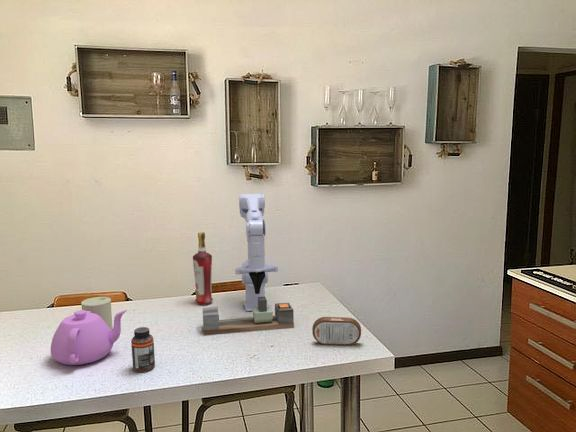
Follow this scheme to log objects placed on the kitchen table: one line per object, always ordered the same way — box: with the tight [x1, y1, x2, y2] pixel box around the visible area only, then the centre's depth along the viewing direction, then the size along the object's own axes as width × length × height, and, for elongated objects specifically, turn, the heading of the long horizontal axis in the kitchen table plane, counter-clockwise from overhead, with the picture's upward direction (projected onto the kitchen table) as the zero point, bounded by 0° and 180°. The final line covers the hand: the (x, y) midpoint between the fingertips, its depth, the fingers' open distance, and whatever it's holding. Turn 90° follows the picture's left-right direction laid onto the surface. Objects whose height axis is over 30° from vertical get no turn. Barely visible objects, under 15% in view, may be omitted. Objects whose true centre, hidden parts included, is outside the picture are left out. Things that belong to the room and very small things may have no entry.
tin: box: [311, 316, 362, 346], centre depth 151 cm, size 15×3×8 cm, turn 84°
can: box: [80, 296, 114, 331], centre depth 161 cm, size 9×9×12 cm
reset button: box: [279, 304, 289, 309], centre depth 169 cm, size 3×3×4 cm
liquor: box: [192, 231, 214, 306], centre depth 190 cm, size 7×7×28 cm
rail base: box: [202, 302, 295, 336], centre depth 167 cm, size 9×30×6 cm, turn 101°
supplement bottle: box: [130, 326, 156, 373], centre depth 136 cm, size 6×6×11 cm
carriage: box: [252, 296, 274, 323], centre depth 167 cm, size 6×6×8 cm
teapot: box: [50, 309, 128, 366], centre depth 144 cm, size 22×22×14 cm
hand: (257, 293), depth 170 cm, fingers closed
